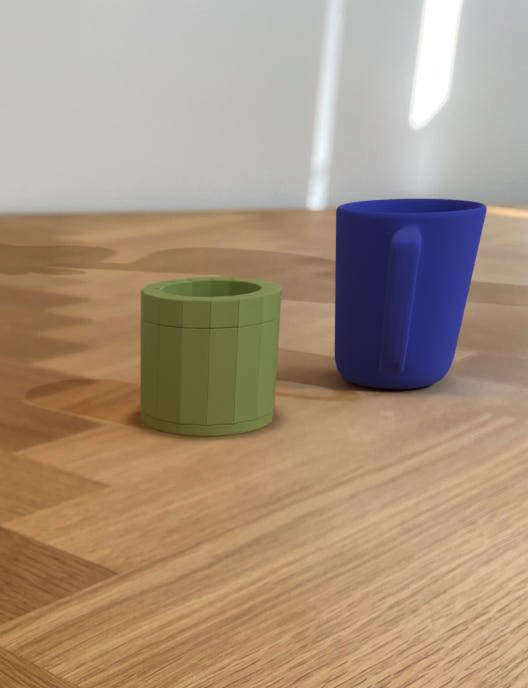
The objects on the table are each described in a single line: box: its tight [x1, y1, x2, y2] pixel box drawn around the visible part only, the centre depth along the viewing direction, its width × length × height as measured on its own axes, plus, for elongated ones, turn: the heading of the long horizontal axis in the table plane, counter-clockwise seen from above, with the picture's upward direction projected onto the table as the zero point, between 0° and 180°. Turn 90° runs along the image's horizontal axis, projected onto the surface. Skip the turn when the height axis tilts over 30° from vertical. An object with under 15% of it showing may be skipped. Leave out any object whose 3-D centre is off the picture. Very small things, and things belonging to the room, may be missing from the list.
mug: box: [334, 198, 488, 390], centre depth 61 cm, size 8×12×10 cm
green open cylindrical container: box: [139, 276, 283, 437], centre depth 57 cm, size 7×7×7 cm
